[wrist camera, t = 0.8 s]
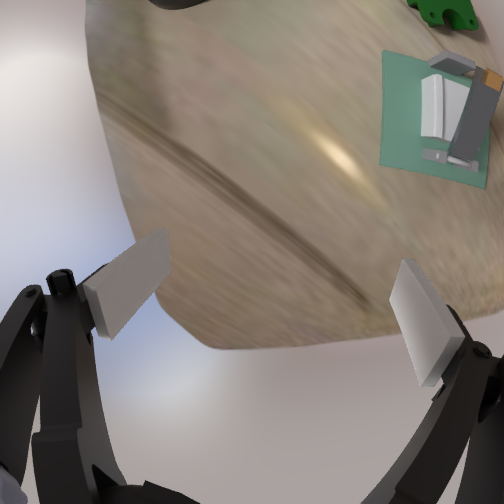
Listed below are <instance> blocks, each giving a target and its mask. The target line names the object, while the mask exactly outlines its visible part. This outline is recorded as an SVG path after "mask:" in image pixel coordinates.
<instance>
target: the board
mask: <svg viewBox="0 0 504 504" xmlns="http://www.w3.org/2000/svg"><path fill="white" fill-rule="evenodd" d="M475 69H476V66H475V62H474V61H471V60H469V59H467V58H465V57H463V56H460V55H458V54H456V53H453V52H451V51H448V50H446V51H444V52H442V53H440V54H438V55H437V56H435V57H433V58H432V59H430V60H428V61H427V62H426V61H423V60H420V59H416V58H413V57H409V56H406V55H402V54H398V53H394V52H390V51H386V50H383V51H382V73H383V109H382V134H381V149H380V161H379V165H381V166H387V167H393V168H398V169H404V170H409V171H414V172H419V173H423V174H428V175H432V176H437V177H441V178H445V179H449V180H453V181H457V182H461V183H465V184H468V185H472V186H475V187H479V188H482V189H485V183H486V175H487V166H488V155H489V138H490V124H489V126H488V128H487V131H486V133H485V135H484V138H483V140H482V142H481V144H480V146H479V149H478V151H477V153H476V155H475V157H474V159H473V161H469V160H466V159H462V158H459V157H456V156H452V155H450V154H449V152H448V148H449V146H450V143H451V141H452V138H453V136H454V133H455V131H456V128H457V125H458V123H459V120H460V117H461V114H462V112H463V109H464V106H465V103H466V100H467V97H468V93H469V90H470V87H471V83H472V80H473V79H471V78H468V77H466V76H464V75H461V74H464V73H467V72H470V71H473V70H475Z"/></svg>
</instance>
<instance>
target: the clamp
mask: <svg viewBox="0 0 504 504" xmlns="http://www.w3.org/2000/svg"><path fill="white" fill-rule="evenodd" d="M407 2H408V5H409V6H410V7H418V8H419V11H420V14H421V17H422V18H423V20H424V21H425V22H427V23H428V25H429V27H435V26H440V25H445V24H444V22H443V19H442V14H443V15H444V16H445V17H446V18H447V19H448V20H449V22H450V24H451V27H452V30H461V29H465V30H477V29H478V22H477V19H476V16H475V13H474V10H473V7H472V4H471V1H470V0H407Z"/></svg>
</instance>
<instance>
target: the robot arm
mask: <svg viewBox="0 0 504 504" xmlns="http://www.w3.org/2000/svg"><path fill="white" fill-rule="evenodd" d="M149 1H150V2H151V3H153V4H154V5H155V6H157V7H159V8H162V9H168V10H175V9H182V8H186V7H190V6H193V5H195V4H198V3H200V2H202V1H204V0H149ZM171 272H172V269H171V258H170V245H169V231H168V229H162V228H156V229H155V230H153V231H152V232H151V233H149V234H148V235H146V236H145V237H144V238H142V239H141V240H139V241H138V242H137V243H135V244H134V245H133V246H131V247H130V248H128V249H127V250H126V251H124V252H123V253H122V254H120V255H119V256H118V257H116V258H115V259H114V260H112V261H111V262H110V263H107V264H105V265H103V266H101V267H100V268H99V269H97V270H96V272H93V273H92V274H91V276H88V277H87V278H86V279H85V280H83V281H82V282H81V283H80V284H78V285H77V286H76V284H75V281H74V276H73V272H72V271H71V270H70V269H60V270H56V271H54V272H52V273H51V274H49V275H48V276H47V278H46V280H47V284H48V287H49V290H50V293H51V295H44V294H43V291H42V288H41V286H40V285H29V286H27V287H26V288H24V289H23V290H22V291H21V292H20V293H19V295H18V296H17V298H16V299H15V301H14V302H13V304H12V306H11V307H10V308H9V310H8V312H7V313H6V315H5V316H4V318H3V320H2V322H1V323H0V504H27V502H28V500H27V496H26V494H25V493H24V492H23V491H21V488H20V487H21V484H22V482H23V478H24V474H25V469H26V463H27V457H28V449H29V443H30V437H31V431H32V426H33V421H34V416H35V412H36V407H37V403H38V399H39V395H40V424H41V428H40V432H37V433H33V435H32V441H31V446H32V457H33V466H34V474H35V480H36V486H37V492H38V497H39V502H40V504H200V503H198V502H196V501H194V500H193V499H190V498H189V497H187V496H185V495H183V494H182V493H179V492H175V491H172V490H170V489H167V488H164V487H161V486H158V485H156V484H153V483H151V482H148V481H146V480H145V482H144V484H143V486H141V485H127V483H126V480H125V479H124V476H123V475H122V473H121V471H120V470H119V468H118V466H117V463H116V461H115V457H114V454H113V450H112V447H111V443H110V439H109V435H108V432H107V427H106V423H105V418H104V413H103V409H102V403H101V398H100V392H99V386H98V379H97V372H96V364H95V355H94V345H93V336H92V334H91V330H92V329H93V328H94V327H96V330H97V332H98V335H99V336H100V337H102V338H105V339H108V340H110V341H112V339H113V338H114V337H115V336H116V335H117V334H118V333H119V331H120V330H121V329H122V328H123V327H124V325H125V324H126V323H127V322H128V321H129V320H130V318H131V317H132V316H133V315H134V314H135V313H136V311H137V310H138V309H139V308H140V307H141V306H142V305H143V303H144V302H145V301H146V300H147V299H148V297H150V295H151V294H152V293H153V292H154V291H155V290H156V289H157V288H158V286H159V285H160V284H161V283H162V282H163V281H164V280H165V279H166V278H167V276H168V275H169V274H170V273H171ZM389 301H390V303H391V306H392V308H393V311H394V313H395V316H396V318H397V321H398V323H399V326H400V329H401V331H402V334H403V337H404V340H405V342H406V345H407V348H408V351H409V354H410V357H411V360H412V363H413V366H414V369H415V372H416V375H417V379H418V382H419V385H420V387H434V386H435V385H436V383H437V382H438V381H439V379H440V378H441V377H442V380H443V383H444V384H443V385H442V387H441V388H440V389H439V391H438V392H437V393H436V395H435V396H434V397H433V399H432V401H433V403H432V405H431V407H430V409H429V410H428V412H427V414H426V416H425V417H424V419H423V421H422V423H421V424H420V426H419V427H418V429H417V431H416V432H415V434H414V435H413V437H412V439H411V440H410V442H409V443H408V445H407V446H406V448H405V449H404V450H403V452H402V453H401V455H400V456H399V457H398V459H397V460H396V462H395V463H394V464H393V466H392V467H391V468H390V470H389V471H388V472H387V474H386V475H385V476H384V477H383V478H382V480H381V481H380V482H379V484H377V486H376V487H375V488H374V489H373V490H372V491H371V493H370V494H369V495H368V496H367V497H366V498H365V499H364V501H363V502H362V503H361V504H436V503H437V502H438V500H439V498H440V497H441V495H442V493H443V492H444V490H445V488H446V486H447V484H448V482H449V480H450V479H451V477H452V475H453V473H454V471H455V469H456V467H457V465H458V463H459V460H460V458H461V456H462V454H463V452H464V449H465V447H466V444H467V442H468V439H469V437H470V440H469V446H468V452H467V457H466V462H465V467H464V471H463V475H462V480H461V483H460V487H459V491H458V494H457V497H456V501H455V504H504V355H503V356H502V358H497V357H493V356H492V353H491V351H490V349H489V348H488V347H487V346H486V345H484V344H483V343H481V342H478V341H473V339H472V338H471V336H470V334H469V332H468V331H467V329H466V327H465V326H464V325H463V323H462V321H461V319H459V316H458V315H457V313H456V312H455V310H453V309H452V308H451V307H450V306H449V305H446V304H445V303H444V301H443V300H442V298H441V296H440V295H439V293H438V292H437V291H436V289H435V288H434V286H433V285H432V283H431V282H430V280H429V279H428V278H427V276H426V275H425V273H424V272H423V271H422V269H421V268H420V266H419V265H418V264H417V262H416V261H415V260H414V259H410V258H403V257H402V261H401V264H400V268H399V271H398V274H397V278H396V281H395V284H394V287H393V290H392V293H391V296H390V299H389ZM31 327H32V329H33V334H31ZM499 400H500V401H499Z"/></svg>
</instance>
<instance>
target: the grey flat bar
mask: <svg viewBox="0 0 504 504" xmlns="http://www.w3.org/2000/svg"><path fill="white" fill-rule="evenodd" d="M503 79H504V78H503V77H502V76H500V75H498V74H497V73H495V72H493V71H491V70H489V69H487V68H486V70H484V69H482V68H480V67H478V66H476V69H475V73H474V76H473V80H472V83H471V87H470V90H469V93H468V97H467V100H466V103H465V106H464V109H463V112H462V114H461V117H460V120H459V123H458V125H457V128H456V131H455V133H454V136H453V138H452V141H451V143H450V146H449V148H448V152H449V154H450V155H452V156H456V157H459V158H462V159H466V160H469V161H473V159H474V157H475V155H476V153H477V151H478V149H479V146H480V144H481V142H482V140H483V138H484V135H485V133H486V131H487V128H488V126H489V124H490V121H491V119H492V116H493V114H494V111H495V108H496V106H497V103H498V100H499V97H500V94H501V91H502V88H503V85H504V81H503Z"/></svg>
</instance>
